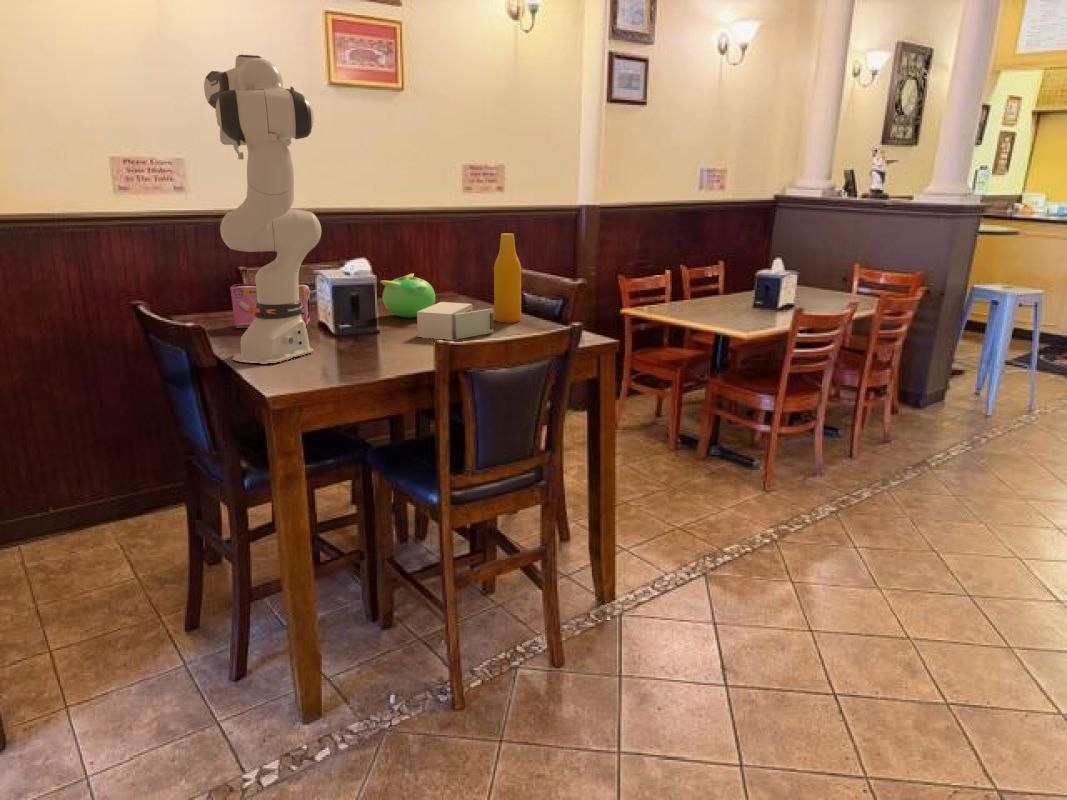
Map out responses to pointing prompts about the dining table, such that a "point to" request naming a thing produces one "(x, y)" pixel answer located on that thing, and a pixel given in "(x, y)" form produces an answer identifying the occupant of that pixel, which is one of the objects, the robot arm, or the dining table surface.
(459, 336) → the side door
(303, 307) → the gum box
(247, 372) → the dining table surface
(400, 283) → the green horned ball
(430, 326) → the cabinet housing
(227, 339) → the dining table surface
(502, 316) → the beer bottle
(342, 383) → the dining table surface
